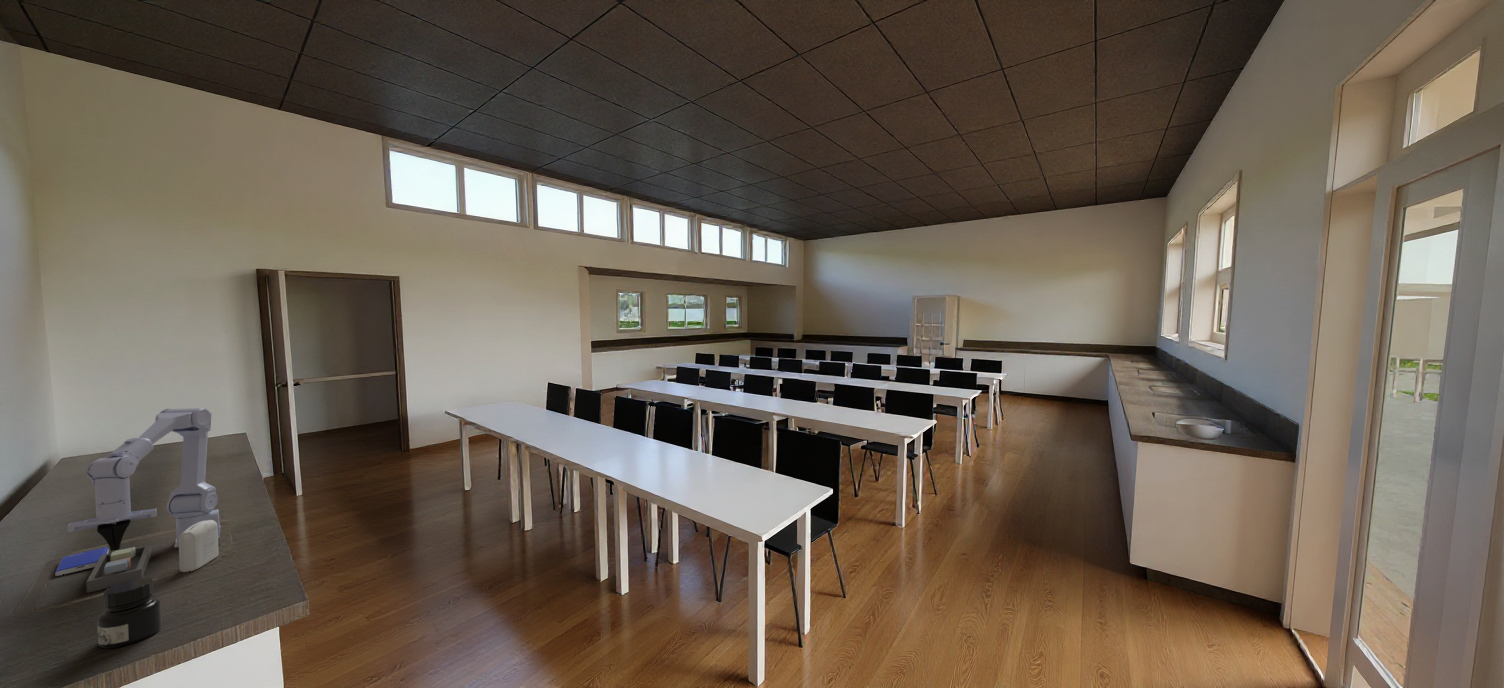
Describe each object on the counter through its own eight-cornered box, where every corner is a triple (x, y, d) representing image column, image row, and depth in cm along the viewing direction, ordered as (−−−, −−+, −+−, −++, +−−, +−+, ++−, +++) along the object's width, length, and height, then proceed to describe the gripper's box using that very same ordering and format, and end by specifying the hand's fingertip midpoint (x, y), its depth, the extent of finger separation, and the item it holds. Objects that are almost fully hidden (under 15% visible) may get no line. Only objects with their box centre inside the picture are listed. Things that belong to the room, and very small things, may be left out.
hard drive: (62, 556, 141) (55, 571, 133) (108, 546, 147) (104, 559, 139) (62, 561, 141) (55, 576, 133) (108, 551, 147) (104, 564, 139)
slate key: (128, 567, 134) (128, 558, 134) (126, 572, 131) (126, 562, 131) (107, 572, 131) (106, 562, 131) (104, 577, 129) (104, 567, 129)
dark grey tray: (151, 554, 147) (150, 544, 146) (142, 579, 132) (141, 569, 132) (102, 565, 140) (101, 555, 140) (86, 592, 126) (86, 581, 126)
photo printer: (203, 557, 145) (201, 517, 145) (221, 555, 147) (220, 515, 146) (176, 574, 136) (174, 531, 135) (196, 571, 137) (194, 529, 136)
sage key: (133, 556, 140) (132, 547, 140) (131, 560, 138) (131, 551, 138) (113, 560, 138) (112, 551, 137) (110, 565, 135) (110, 556, 135)
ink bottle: (90, 643, 106) (87, 591, 106) (150, 620, 115) (148, 571, 114) (109, 654, 103) (107, 600, 102) (170, 630, 111) (168, 580, 111)
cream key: (135, 555, 143) (135, 546, 143) (134, 559, 141) (133, 550, 141) (116, 559, 141) (115, 550, 141) (113, 564, 138) (113, 555, 138)
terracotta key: (131, 566, 137) (130, 557, 137) (129, 570, 135) (128, 561, 135) (110, 571, 134) (109, 561, 134) (108, 575, 132) (107, 566, 132)
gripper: (63, 512, 123) (66, 563, 123) (153, 497, 133) (155, 545, 134) (70, 504, 127) (72, 554, 128) (156, 491, 138) (158, 537, 139)
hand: (115, 549), depth 131 cm, fingers closed
